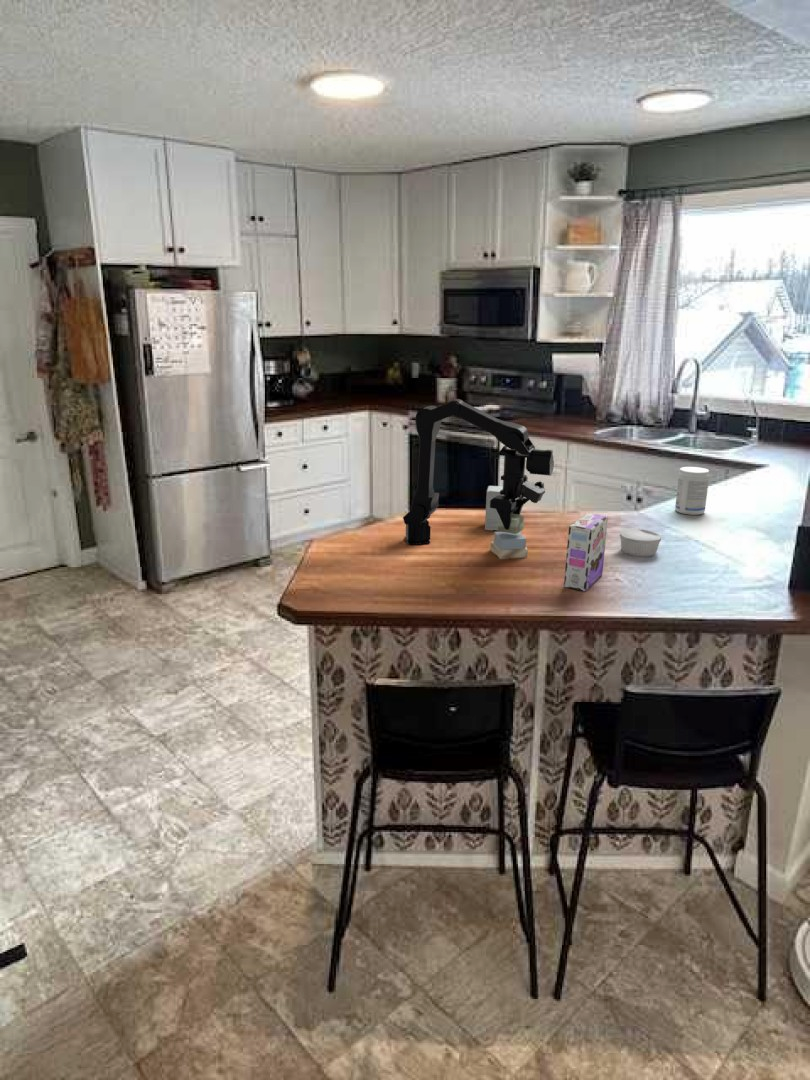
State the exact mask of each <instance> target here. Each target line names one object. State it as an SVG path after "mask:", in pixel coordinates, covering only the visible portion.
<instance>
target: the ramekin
mask: <svg viewBox="0 0 810 1080" xmlns="http://www.w3.org/2000/svg"><path fill="white" fill-rule="evenodd" d="M619 537H620V548H621V550H622V552H624V553H625V554H627V555H629V556H634V557H640V558H642V557H644V558H645V557H652V556H654V555H656V553H657V551H658V548H659V545H660V542H661V541H662V535H660V534H659V533H657V532H654V531H651V530H648V529H640V528H628V529H624V530H621V531H620V533H619Z"/></svg>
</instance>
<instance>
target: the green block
mask: <svg viewBox="0 0 810 1080" xmlns="http://www.w3.org/2000/svg"><path fill="white" fill-rule="evenodd" d="M524 525H525V515H524V514H520V515H519V514H512V518H511V523H510V528H509V530H507V529H505V528H504V526H503V523H502V521H501V519H500V517H498V531H497V532H506V533H512V534H517V533H519V532H520V533H521V532H522V531H523V530H524V528H525V526H524Z"/></svg>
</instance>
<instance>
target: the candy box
mask: <svg viewBox="0 0 810 1080" xmlns="http://www.w3.org/2000/svg"><path fill="white" fill-rule="evenodd" d="M608 520H609V518H608V516H607V515H600V514H595V513H590V512H586V513H585V514H584V515H583V516H581V517H580V518H579V519H577V520H575V521H574V522H573V523H572V524H570V525H568V535H567V545H566V546H567V548H566V555H565V556H566V557H565V558H566V559H565V571H564V582H563V587H564V588H568V589H572V588H573V590H576V589H578V590H577V591H580V590H583V591H582V592H586V591H588V590H589V589H590V588H591V587H592V586H593V585H594V584H595V583H596V582H597V581H598V580H599V579H600V578H601V577H602V576H603V571H604V561H605V550H606V542H607V541H606V539H607V528H608ZM600 576H601V577H600ZM598 578H599V579H598ZM597 579H598V580H597ZM596 580H597V581H596ZM595 581H596V582H595ZM594 582H595V583H594ZM593 583H594V584H593ZM592 584H593V585H592ZM591 585H592V586H591ZM590 586H591V587H590ZM587 589H588V590H587Z"/></svg>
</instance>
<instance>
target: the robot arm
mask: <svg viewBox="0 0 810 1080" xmlns="http://www.w3.org/2000/svg"><path fill="white" fill-rule="evenodd" d="M452 416H455V417H458V418H459V419H462V420H463V421H465V422H468V423H469V424H471V425H473V426H475V427H477V428H478V429H481V430H484V431H485V432H487V433H490V434H491V435H492V436H493V437H494V438H495V439H496V440H497V441H498V442H500V443H501V444H503V445H504V446H502V448H501V449H500V450H499V451H498V452H497V453H496V455H497V456H502V457H503V458H504V459H503V472H502V473H503V474H502V475H501V476H500V481H502V486H503V489H502V490H501V491H500V494H501V495H504V496H501V495H497V496H496V497H494V498H493V499H491V500H490V508H494V509H496V510H497V512H498V514H499V516H500V519H501V521H502V523H503V526H504V528H505V529H507V530H509V528H510V523H511V518H512V514H519V515H521V512H522V509H523V507H524V505H525V504H526V503H528V502H529V501H530V502H531V503H534V504H537V503H538V502H539V501H541V500H542V498H543V496H544V494H545V493H546V488H545V482H543V481H542V480H538V481H537V482H535V483H534V482H530V481H528V476H527V474H525V473H526V472H525V471H526V470H527V472H529V474H530V475H539V476H549V477H550V476H552V475H553V471H554V464H555V460H554V455H553V454H554V451H553V449H536V447H535V445H534V443H533V442H532V440H531V439H530V437H529V435H530V434H529V431H528V429H527V428H526V427H525V426H524V425H521V424H519V423H515V422H511V421H505V420H502V419H498V418H497V417H494V416H493V415H491V414H488V413H486V412H484V411H483V410H481V409H478V408H476V407H474V406H473V405H470V404H468V403H466V402H465V401H463V400H462V399H460V398H455V399H453V400H451V401H449V402H447V403H445V404H442V405H440V406H436V405H428V406H425V407H424V408H421V409H419V410H418V411H417V412H416V414H415V428H416V432H417V434H418V439H419V449H418V451H419V452H418V467H417V469H418V470H417V487H416V490H415V493H414V495H413V498H412V501H411V507H410V510H409V511H408V512H407V513H406V514H405V515H404V516H403V517H402V520H403V522H404V524H405V536H403V537H404V538H403V539H404V540H405V541H406V543H407V544H408V545H410V546H411V545H412V546H413V545H414V546H415V545H425V544H426V545H427V544H431V541H430V540H431V526H430V522H429V520H428V519H430V518H431V516H432V514H434V513H435V512H436V511H437V508H438V507H439V506H440V504H439V497H440V492H435V489H434V475H435V474H434V472H435V458H436V456H435V455H436V439H437V436H438V435H439V432H440V428H441V425H442V421H443V420H444V419H445V420H446V419H448V418H449V417H452ZM525 469H526V470H525Z"/></svg>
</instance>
